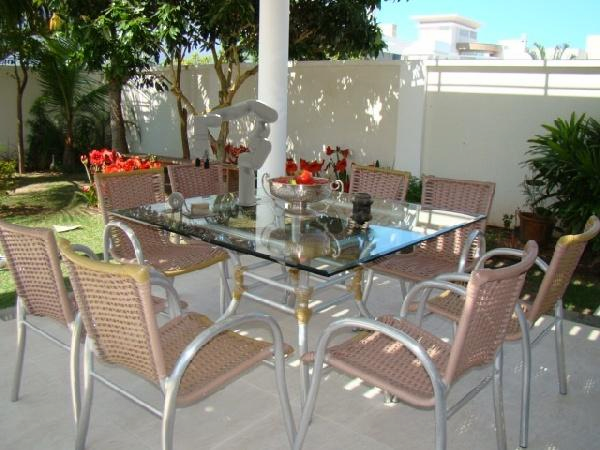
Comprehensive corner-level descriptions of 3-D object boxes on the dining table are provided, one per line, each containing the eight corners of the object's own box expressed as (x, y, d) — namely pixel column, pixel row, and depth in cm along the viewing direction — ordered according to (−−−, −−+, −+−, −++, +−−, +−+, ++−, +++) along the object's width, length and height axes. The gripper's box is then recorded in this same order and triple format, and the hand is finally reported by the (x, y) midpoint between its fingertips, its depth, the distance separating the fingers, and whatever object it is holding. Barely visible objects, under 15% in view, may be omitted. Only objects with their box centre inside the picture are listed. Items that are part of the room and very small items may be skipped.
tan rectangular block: (190, 213, 306) (190, 203, 305) (205, 212, 312) (205, 201, 310) (194, 215, 303) (194, 204, 302) (209, 213, 308) (209, 203, 307)
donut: (185, 209, 319) (185, 192, 316) (182, 210, 316) (181, 193, 313) (170, 207, 322) (170, 190, 320) (167, 208, 319) (167, 191, 317)
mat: (206, 210, 318) (206, 209, 318) (219, 215, 307) (219, 214, 307) (181, 213, 308) (181, 212, 308) (192, 219, 297) (192, 217, 297)
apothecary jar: (374, 225, 299) (376, 192, 295) (369, 230, 288) (371, 196, 284) (352, 223, 303) (354, 190, 299) (346, 227, 292) (348, 194, 288)
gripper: (187, 136, 315) (188, 166, 319) (203, 139, 302) (204, 170, 306) (199, 135, 319) (200, 165, 324) (215, 138, 307) (216, 169, 311)
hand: (202, 167), depth 315 cm, fingers open, 9 cm apart
